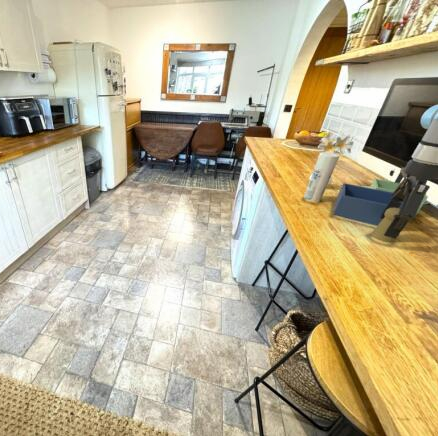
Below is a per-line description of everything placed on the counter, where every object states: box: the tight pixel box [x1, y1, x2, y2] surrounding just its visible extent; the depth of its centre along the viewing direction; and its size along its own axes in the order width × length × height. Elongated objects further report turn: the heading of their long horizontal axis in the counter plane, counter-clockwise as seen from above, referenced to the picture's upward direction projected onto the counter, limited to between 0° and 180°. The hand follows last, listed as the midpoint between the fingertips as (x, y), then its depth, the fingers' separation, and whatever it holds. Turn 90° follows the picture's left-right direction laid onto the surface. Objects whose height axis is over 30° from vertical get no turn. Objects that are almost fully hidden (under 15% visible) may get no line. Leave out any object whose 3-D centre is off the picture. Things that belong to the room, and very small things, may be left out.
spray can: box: [303, 151, 340, 203], centre depth 98 cm, size 6×6×20 cm
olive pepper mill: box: [370, 208, 407, 244], centre depth 75 cm, size 6×6×11 cm
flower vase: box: [308, 131, 355, 187], centre depth 110 cm, size 13×18×25 cm
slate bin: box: [332, 182, 403, 227], centre depth 90 cm, size 18×16×9 cm
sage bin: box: [369, 166, 429, 217], centre depth 95 cm, size 14×12×15 cm
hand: (387, 227), depth 76 cm, fingers open, 13 cm apart
